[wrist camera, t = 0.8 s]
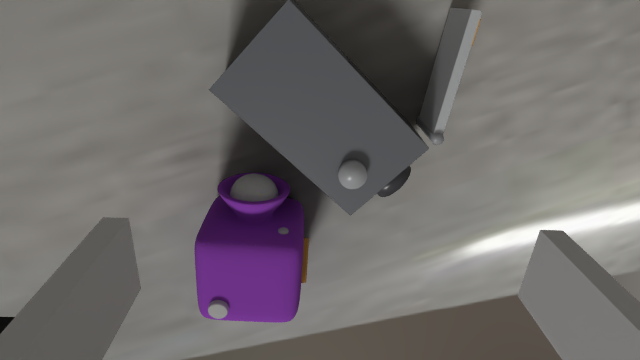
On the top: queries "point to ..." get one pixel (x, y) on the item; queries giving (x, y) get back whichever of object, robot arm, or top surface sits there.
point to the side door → (447, 71)
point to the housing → (320, 111)
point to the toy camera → (251, 251)
